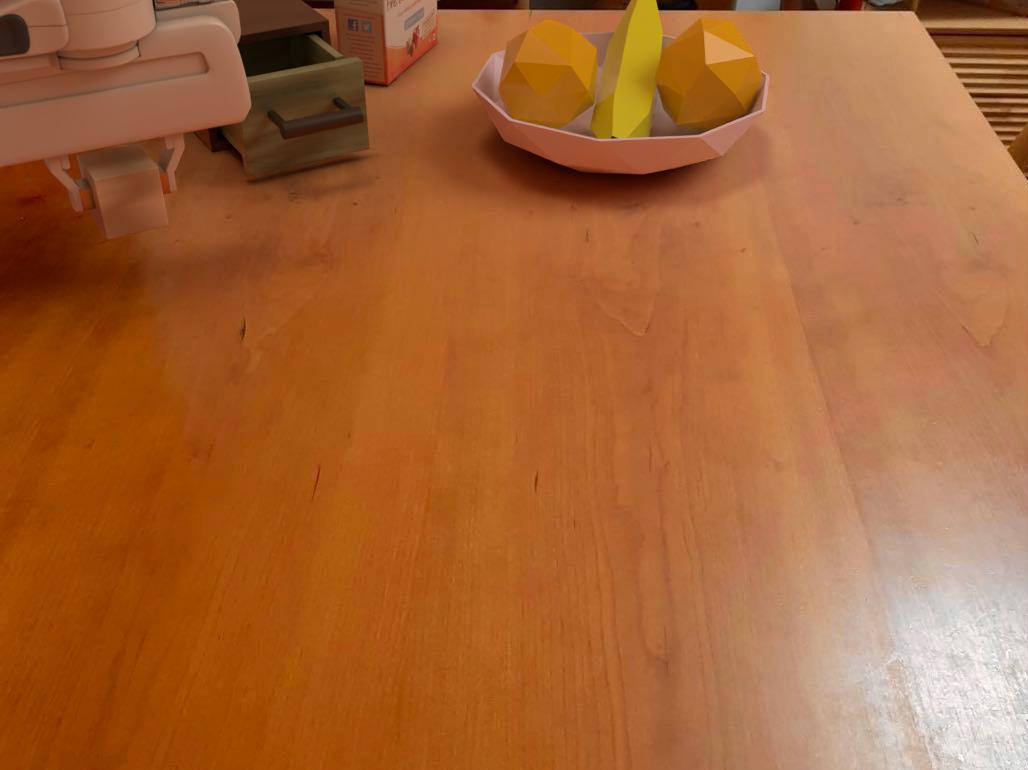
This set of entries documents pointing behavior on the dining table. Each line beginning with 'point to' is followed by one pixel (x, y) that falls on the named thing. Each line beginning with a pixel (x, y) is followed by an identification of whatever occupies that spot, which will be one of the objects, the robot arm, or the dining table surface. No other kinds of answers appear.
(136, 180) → the block
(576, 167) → the fruit bowl
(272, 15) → the cabinet
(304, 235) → the dining table surface
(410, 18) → the cracker box
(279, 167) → the drawer
